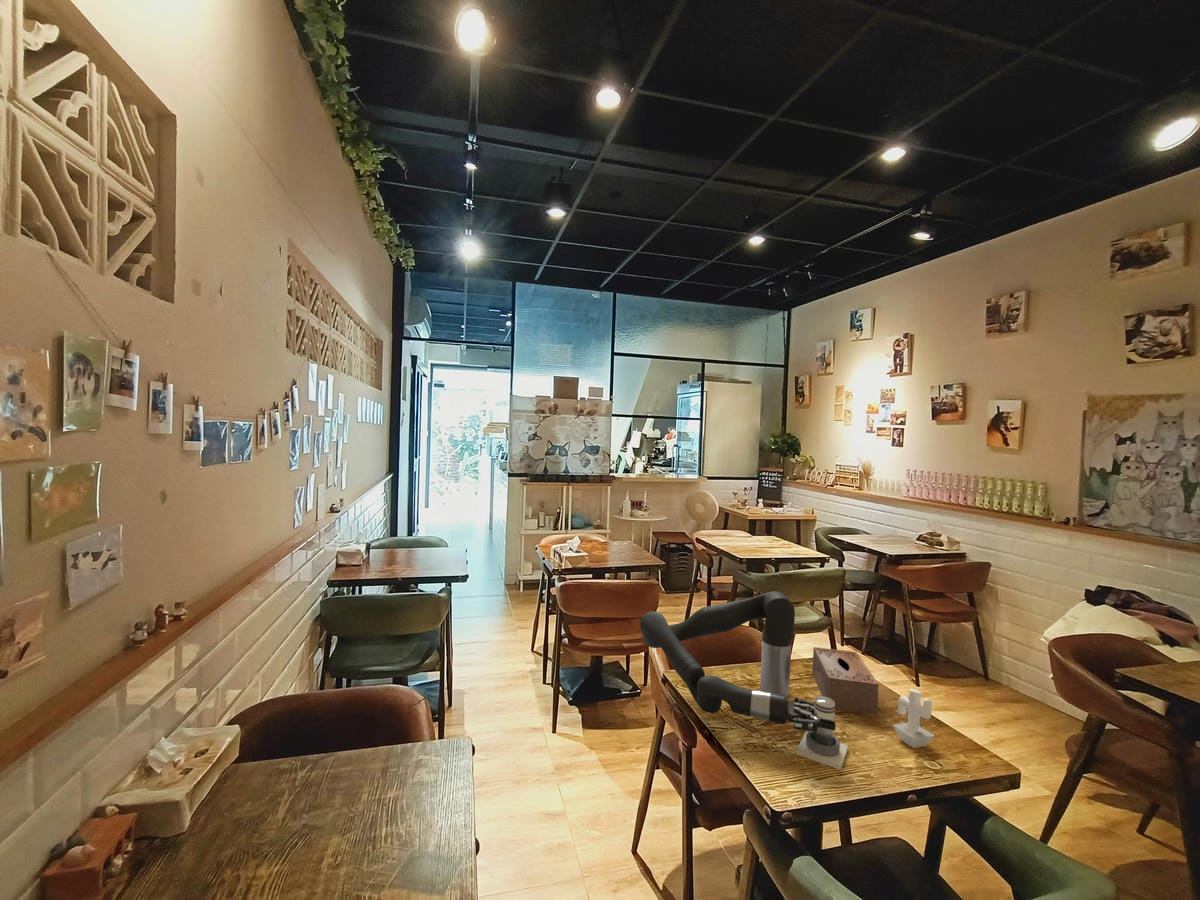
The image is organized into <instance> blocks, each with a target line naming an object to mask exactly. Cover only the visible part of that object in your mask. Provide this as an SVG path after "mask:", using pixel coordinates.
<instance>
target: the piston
mask: <svg viewBox="0 0 1200 900" xmlns="http://www.w3.org/2000/svg"><path fill="white" fill-rule="evenodd" d="M813 703H814V716H815V717H818V718H822V719H827V720H831V721H835V711H836V709H835V702H834V701H833V700H832V699H830V698H828V697H824V696H822V695H819V696H815V697H814V702H813ZM833 735H834V731H833V730H829V729H824V728H819V729H817V732H814V731H813V740H814V741H815V742H817V743H819V744H822V745H828V746H832V745H833Z"/></svg>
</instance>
